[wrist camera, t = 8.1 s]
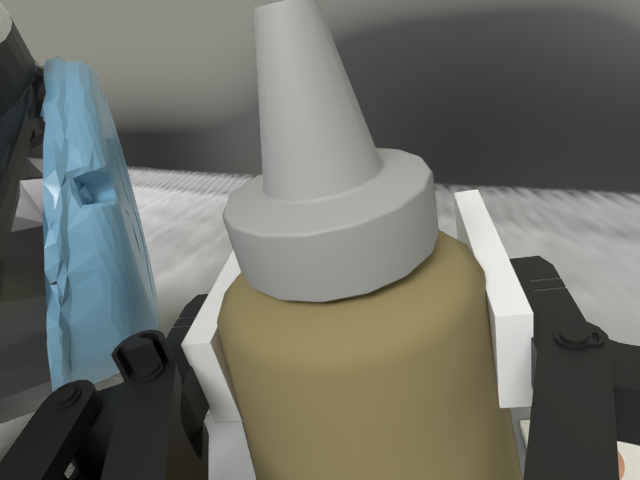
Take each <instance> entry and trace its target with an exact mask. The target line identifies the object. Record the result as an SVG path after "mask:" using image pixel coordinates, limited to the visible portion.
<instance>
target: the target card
mask: <svg viewBox="0 0 640 480" xmlns="http://www.w3.org/2000/svg"><path fill="white" fill-rule="evenodd" d="M529 425H530V420H520V430H521V433H522V436H523V439H524V442H525V446H526V449H527V444H528V435H529ZM617 448H618V463H619V478H620V480H640V446H638V445H633V444H629V443H624V442H619V441H617Z"/></svg>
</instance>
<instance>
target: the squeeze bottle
mask: <svg viewBox="0 0 640 480" xmlns="http://www.w3.org/2000/svg"><path fill="white" fill-rule="evenodd" d="M254 20H255V38H256V57H257V75H258V94H259V113H260V131H261V149H262V166H263V167H262V168H263V174H261V175H259V176H257V177H255V178H253V179H251V180H249V181H248V182H246V183H245V184H244V185H243V186H242V187H240V188H239V189H238V190H237V191H236V192H235V193H233V194H232V195H231V196H230V197H229V200H228V202H227V205H226V207H225V210H224V213H223V215H222V217H223V220H224V223H225V226H226V229H227V232H228V235H229V238H230V241H231V244H232V247H233V250H234V253H235V256H236V259H237V262H238V265H239V268H240V271H241V273H240V274H239V275H238V276H237V277H236V279H235V280H234V281H233V282H232V284H231V285H230V286H229V288H228V289H227V290H226V291H225V293H224V297H223V300H222V304H221V308H220V312H219V315H218V319H217V326H218V329H219V333H220V337H221V341H222V345H223V349H224V353H225V357H226V361H227V365H228V369H229V373H230V377H231V380H232V384H233V388H234V391H235V395H236V399H237V402H238V406H239V410H240V413H241V417H242V424H243V428H244V432H245V436H246V440H247V444H248V448H249V452H250V455H251V459H252V463H253V467H254V471H255V475H256V479H257V480H522V476H521V470H520V465H519V459H518V454H517V448H516V443H515V437H514V432H513V426H512V421H511V415H510V410H509V408H500V406H499V399H498V391H497V382H496V373H495V365H494V356H493V348H492V339H491V330H490V322H489V313H488V304H487V296H486V277H485V272H484V270H483V268H482V267H481V265H480V264H479V262H478V261H477V259H476V258H475V256H474V255H473V253H472V252H471V250H470V248H469V247H468V245H466V244H464V243H462V242H460V241H458V240H457V239H455V238H453V237H451V236H449V235H447V234H445V233H444V232H442V231H440V230H439V229H438V219H437V209H436V200H435V190H434V180H433V172H432V171H431V170H430V168H429V167H428V166H427V164H426V163H425V161H424V160H423V159H422V158H421V157H419V156H416V155H413V154H410V153H407V152H404V151H401V150H397V149H382V148H375V145H374V143H373V140H372V138H371V135H370V133H369V130H368V128H367V125H366V123H365V120H364V117H363V115H362V112H361V110H360V107H359V105H358V102H357V100H356V97H355V95H354V92H353V90H352V87H351V84H350V82H349V79H348V77H347V74H346V72H345V69H344V67H343V64H342V62H341V59H340V56H339V54H338V51H337V49H336V47H335V44H334V41H333V39H332V36H331V34H330V31H329V28H328V26H327V23H326V21H325V19H324V16H323V13H322V11H321V8H320V5H319V3H318V0H285V1H281V2H277V3H272V4H268V5H264V6H260V7H256V8H254Z"/></svg>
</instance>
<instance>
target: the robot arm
mask: <svg viewBox="0 0 640 480" xmlns="http://www.w3.org/2000/svg"><path fill="white" fill-rule="evenodd" d="M454 200H455V212H456V224H457V236H458V241H460V242H462V243H464V244H466V245H468V247H469V248H470V250H471V252H472V253H473V255H474V256H475V258H476V259H477V261H478V262H479V264H480V265H481V267H482V268H483V270H484V272H485V277H486V296H487V304H488V313H489V322H490V330H491V339H492V348H493V356H494V365H495V373H496V382H497V391H498V399H499V406H500V408H510V407H529V406H532V407H531V416H530V425H529V435H528V444H527V453H526V462H525V472H524V480H620V478H619V463H618V448H617V441H619V442H624V443H629V444H633V445H638V446H640V346H634V345H628V344H623V343H619V342H616V341H613V340H610V339H609V338H608V336H607V334H606V333H605V332H604V331H603V330H601V329H600V328H599V327H597V326H595V325H593V324H591V323H589V322H586V320H585V318H584V317H583V315H582V313H581V311H580V310H579V308H578V306H577V305H576V303H575V301H574V300H573V298H572V296H571V295H570V293H569V291H568V290H567V288H566V287H565V285H564V283H563V281H562V279H560V276H559V274H558V273H557V271H556V269H555V268H554V266H553V265H552V264H551V263H549V262H548V261H546V260H545V259H543V258H541V257H540V256H533V257H524V258H515V259H509V258H508V256H507V254H506V251H505V249H504V247H503V245H502V243H501V240H500V238H499V236H498V234H497V231H496V229H495V227H494V225H493V222H492V220H491V218H490V216H489V214H488V211H487V209H486V207H485V205H484V202H483V200H482V198H481V196H480V194H479V191H478V189H477V190H470V191H463V192H456V193H454ZM240 273H241V271H240V268H239V265H238V262H237V259H236V256H235V253H234V250H233V251H232V253H231V254H230V256H229V258H228V260H227V262H226V264H225V265H224V267H223V269H222V271H221V273H220V275H219V276H218V278H217V280H216V282H215V284H214V285H213V287H212V289H211V291H210V293H209V294H203V295H197V296H196V297H195V298H194V299H193V300H192V301H190V302H189V303H188V304H187V305H186V306H185V308H184V310H183V311H182V313H181V315H180V316H179V319H178V320H177V321H176V323H175V325H174V328H172V330H171V331H170V333H169V335H168V336H167V338H166V339H165V336H164V334H163V333H162V332H160V331H159V330H158V329H159V321H160V319H159V308H158V301H157V295H156V289H155V283H154V278H153V273H152V268H151V263H150V259H149V254H148V250H147V246H146V241H145V237H144V233H143V228H142V224H141V220H140V216H139V212H138V208H137V204H136V201H135V197H134V193H133V189H132V185H131V182H130V178H129V174H128V170H127V167H126V163H125V159H124V156H123V153H122V149H121V145H120V142H119V139H118V135H117V132H116V129H115V125H114V122H113V119H112V116H111V113H110V110H109V107H108V104H107V102H106V99H105V96H104V95H103V93H102V91H101V88H100V86H99V83H98V77H97V75H96V73H95V72H94V70H93V69H92V68H91V67H90V66H89V65H87V64H86V63H84V62H81V61H75V60H74V61H65V60H64V59H62V58H59V57H55V58H52V59H49V60H47V61H46V63H45V66H40V65H39V64H38V63H37V62H36V61H35V60H34V59H33V57H32V56H31V54H30V52H29V50H28V48H27V46H26V45H25V43H24V41H23V39H22V37H21V35H20V33H19V31H18V30H17V28H16V26H15V24H14V22H13V20H12V18H11V16H10V15H9V13H8V12H7V10H6V9H5V7H4V6H3V4H2V3H1V2H0V424H1V423H4V422H6V421H9V420H12V419H15V418H17V417H20V416H23V415H25V414H28V413H31V412H34V411H36V410H37V411H36V412H35V414H34V415H33V417H32V418H31V420H30V421H29V422H28V424H27V425H26V427H25V428H24V429H23V431H22V432H21V434H20V435H19V437H18V438H17V439H16V441H15V442H14V444H13V445H12V447H11V448H10V449H9V451H8V452H7V454H6V455H5V456H4V458H3V459H2V461H1V462H0V480H208V444H209V434H208V431H207V427H206V425H205V423H204V419H205V417H206V414H207V412H208V409H210V411H211V414H212V416H213V418H214V420H215V423H224V422H242V417H241V413H240V410H239V406H238V402H237V399H236V395H235V391H234V388H233V384H232V380H231V377H230V373H229V369H228V365H227V361H226V357H225V353H224V349H223V345H222V341H221V337H220V333H219V329H218V326H217V319H218V315H219V312H220V308H221V304H222V300H223V297H224V293H225V291H226V290H227V289H228V288H229V286H230V285H231V284H232V282H233V281H234V280H235V279H236V277H237V276H238V275H239V274H240ZM118 373H121V375H122V377H123V379H124V383H122V384H119V385H116V386H113V387H110V388H106V389H103V390H100V391H97V390H96V388H95V386H94V384H96V383H98V382H100V381H102V380H104V379H107V378H109V377H111V376H113V375H116V374H118ZM70 462H71V463H72V464H73V466H74V467H75V469H74V471H73V473H72V475H71V476H70V477H69V478H66V476H65V475H64V473H65V471H66V469H67V467H68V466H69V464H70Z"/></svg>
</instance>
